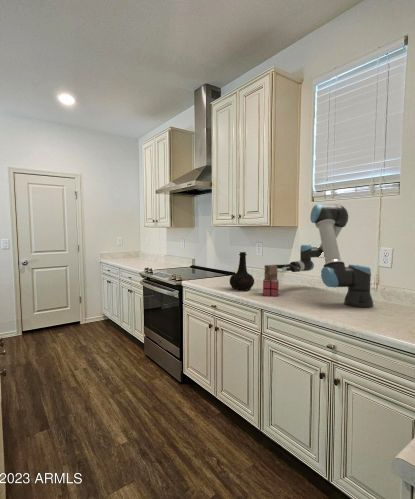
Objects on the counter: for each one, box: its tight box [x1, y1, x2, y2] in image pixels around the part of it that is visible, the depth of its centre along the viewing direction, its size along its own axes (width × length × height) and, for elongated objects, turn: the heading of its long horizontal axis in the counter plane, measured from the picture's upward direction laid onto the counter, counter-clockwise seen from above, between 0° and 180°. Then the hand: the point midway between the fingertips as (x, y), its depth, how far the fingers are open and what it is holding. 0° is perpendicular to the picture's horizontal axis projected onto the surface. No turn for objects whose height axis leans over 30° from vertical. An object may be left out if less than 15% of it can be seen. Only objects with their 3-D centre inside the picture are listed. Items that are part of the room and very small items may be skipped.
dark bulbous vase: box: [229, 251, 255, 292], centre depth 219 cm, size 18×18×28 cm
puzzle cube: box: [262, 278, 279, 297], centre depth 202 cm, size 10×10×10 cm
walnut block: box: [263, 264, 278, 281], centre depth 202 cm, size 6×6×10 cm
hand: (275, 268), depth 204 cm, fingers open, 13 cm apart
